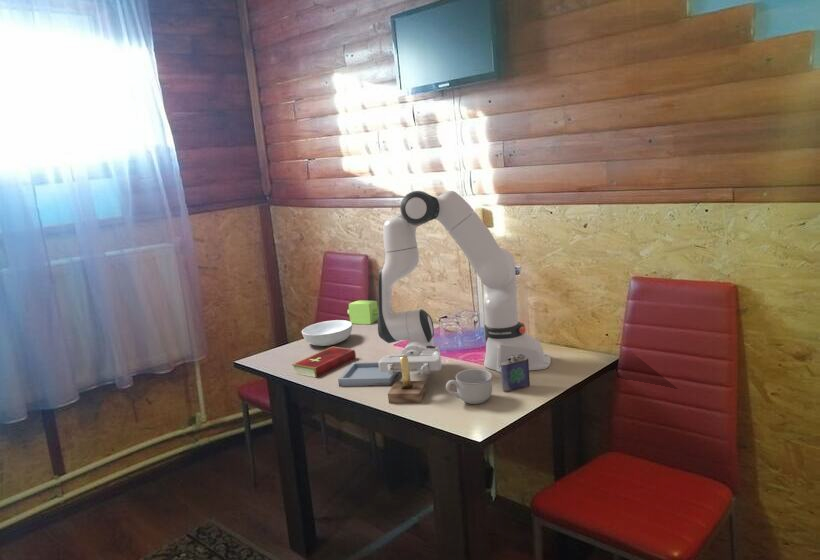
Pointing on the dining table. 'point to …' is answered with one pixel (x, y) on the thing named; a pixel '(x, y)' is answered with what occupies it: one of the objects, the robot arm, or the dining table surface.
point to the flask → (515, 374)
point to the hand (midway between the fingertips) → (405, 372)
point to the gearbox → (363, 312)
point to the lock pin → (405, 372)
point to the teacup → (472, 385)
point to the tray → (365, 375)
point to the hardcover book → (324, 361)
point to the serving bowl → (327, 332)
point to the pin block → (407, 392)
